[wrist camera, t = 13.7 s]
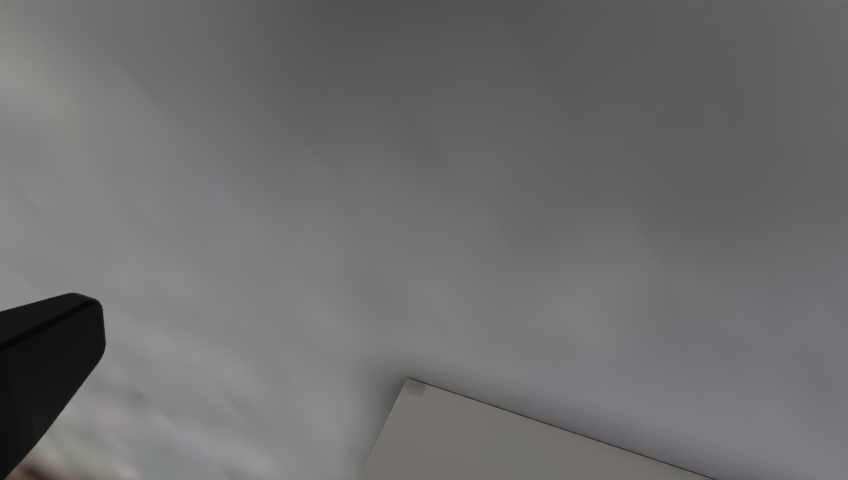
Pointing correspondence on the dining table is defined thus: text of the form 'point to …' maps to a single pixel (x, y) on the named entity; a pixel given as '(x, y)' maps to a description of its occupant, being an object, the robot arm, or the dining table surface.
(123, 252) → the dining table surface
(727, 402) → the dining table surface
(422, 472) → the box
